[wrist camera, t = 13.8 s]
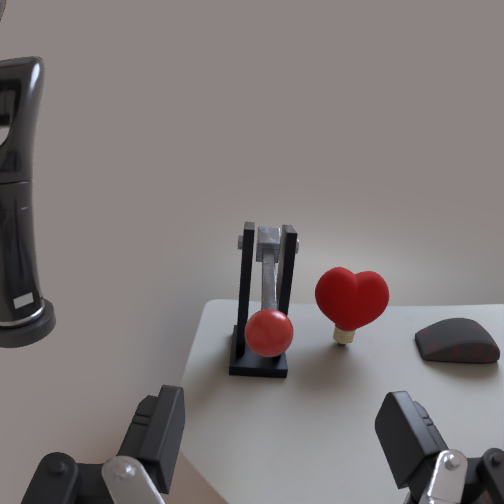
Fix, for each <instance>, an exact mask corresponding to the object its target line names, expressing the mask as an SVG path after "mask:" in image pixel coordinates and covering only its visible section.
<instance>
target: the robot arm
mask: <svg viewBox="0 0 504 504" xmlns="http://www.w3.org/2000/svg"><path fill="white" fill-rule="evenodd" d="M5 5H6V0H0V20H1V17H2V15H3V12H4V9H5ZM45 81H46V67H45V63H44V61H43V59H42V58H40V57H37V56H35V57H34V56H32V57H22V58H14V59H8V60H2V61H0V130H3V129H9V132H8V135H7V137H6V139H5V140H4V141H3V142H2V143H1V144H0V329H16V328H21V327H24V326H27V325H30V324H32V323H34V322H35V321H37V320H38V319H40V318H41V317H42V316H43V314H44V312H45V304H44V300H43V295H42V291H41V284H40V277H39V270H38V263H37V254H36V244H35V231H34V212H33V169H34V155H35V144H36V134H37V127H38V121H39V115H40V110H41V104H42V100H43V93H44V89H45ZM184 425H185V406H184V392H183V388H182V387H176V386H169V385H163V386H162V388H161V390H160V393H159V395H158V397H155V396H150V395H148V396H147V397H146V398H145V399H144V400H142V401H141V402H140V403H139V405H138V408H137V410H136V412H135V415H134V417H133V419H132V423H130V426H129V428H128V431H127V433H126V435H125V438H124V440H123V443H122V445H121V447H120V450H119V452H118V454H117V455H116V457H113V458H111V459H109V460H107V461H106V462H105V463H103V464H82V463H76V462H75V461H74V459H73V458H72V457H70V456H69V455H67V454H65V453H60V452H54V453H50V454H48V455H46V456H45V457H44V458H43V459H42V460H41V462H40V463H39V465H38V468H37V470H36V472H35V474H34V476H33V478H32V480H31V482H30V484H29V487H28V488H27V491H26V493H25V495H24V497H23V499H22V502H21V504H166V503H165V502H164V500H163V499H162V497H161V496H160V493H163V494H169V490H170V486H171V481H172V477H173V473H174V468H175V464H176V460H177V455H178V451H179V447H180V443H181V439H182V434H183V430H184ZM375 431H376V434H377V436H378V439H379V441H380V443H381V446H382V448H383V451H384V453H385V456H386V459H387V461H388V464H389V466H390V469H391V471H392V474H393V477H394V479H395V482H396V484H397V487H398V489H402V488H406V487H409V489H410V491H409V492H408V494H407V496H406V498H405V501H404V503H403V504H486V502H485V500H484V498H483V495H482V494H483V493H484V492H485V491H486V490H487V492H488V494H489V496H490V498H491V501H492V503H493V504H504V451H502V450H501V449H498V448H491V449H488V450H487V451H486V452H485V453H484V455H483V456H482V457H480V458H466V457H465V455H464V454H463V453H461V452H460V451H458V450H454V449H449V448H448V447H447V445H446V443H445V442H444V440H443V438H442V437H441V435H440V433H439V431H438V430H437V428H436V426H435V425H433V421H432V420H431V418H429V415H428V413H427V412H426V410H425V408H424V407H422V406H421V405H420V404H419V403H418V402H416V401H412V399H411V397H410V396H409V394H408V393H407V392H406V391H398V392H389V393H388V394H387V395H386V397H385V399H384V401H383V403H382V406H381V408H380V410H379V412H378V414H377V417H376V419H375Z"/></svg>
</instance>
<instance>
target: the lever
mask: <svg viewBox="0 0 504 504" xmlns="http://www.w3.org/2000/svg"><path fill="white" fill-rule="evenodd" d="M280 247H281V239H280V228H271V227H258V235H257V247H256V262H262V307H261V311H258V312H257V313H255V314H254V315H252V316H251V317H250V319H249V320H248V322H247V324H246V327H245V340H246V343H247V344H248V346H249V348H250V349H251V350H252V351H253V352H255V353H256V354H258V355H260V356H264V357H274V356H277V355H280V354H282V353H283V352H284V351H285V350H287V348H288V347H289V346H290V344H291V342H292V339H293V327H292V324H291V322H290V320H289V318H288V317H287V316H286V315H285V314H283V313H282V312H280V311H277V309H276V282H275V281H276V279H275V263H278V260H279V253H280Z"/></svg>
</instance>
